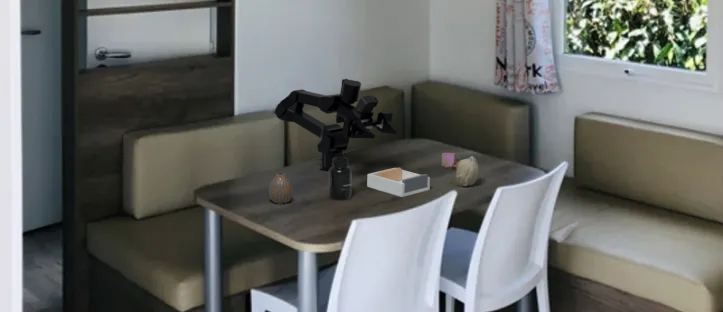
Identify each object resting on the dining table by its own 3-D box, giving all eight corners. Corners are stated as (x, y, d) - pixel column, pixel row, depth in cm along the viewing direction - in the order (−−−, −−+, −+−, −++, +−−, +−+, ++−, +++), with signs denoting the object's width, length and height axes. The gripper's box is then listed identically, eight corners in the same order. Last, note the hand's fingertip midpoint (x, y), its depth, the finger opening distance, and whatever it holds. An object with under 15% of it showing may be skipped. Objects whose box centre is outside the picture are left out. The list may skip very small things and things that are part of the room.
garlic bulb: (467, 188, 308) (472, 158, 309) (484, 190, 301) (490, 159, 302) (444, 183, 303) (450, 152, 304) (461, 185, 296) (466, 153, 297)
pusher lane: (367, 186, 301) (367, 171, 300) (394, 179, 309) (395, 164, 308) (402, 197, 290) (402, 180, 289) (429, 189, 298) (429, 174, 297)
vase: (279, 197, 289) (278, 169, 287) (297, 201, 285) (297, 172, 283) (264, 203, 283) (263, 174, 281) (282, 207, 280) (282, 177, 278)
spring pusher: (373, 182, 301) (374, 171, 300) (394, 177, 307) (394, 166, 306) (381, 184, 299) (381, 173, 298) (401, 179, 304) (401, 168, 304)
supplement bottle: (348, 201, 286) (348, 161, 283) (326, 199, 287) (326, 160, 284) (353, 194, 292) (353, 156, 289) (331, 193, 293) (331, 155, 290)
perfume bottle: (435, 170, 323) (435, 156, 322) (442, 161, 334) (443, 148, 333) (470, 172, 319) (471, 159, 318) (477, 164, 330) (477, 151, 329)
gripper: (334, 95, 300) (367, 114, 290) (378, 88, 312) (411, 107, 302) (329, 128, 305) (361, 148, 295) (372, 120, 317) (405, 139, 307)
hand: (385, 134), depth 299 cm, fingers open, 9 cm apart
